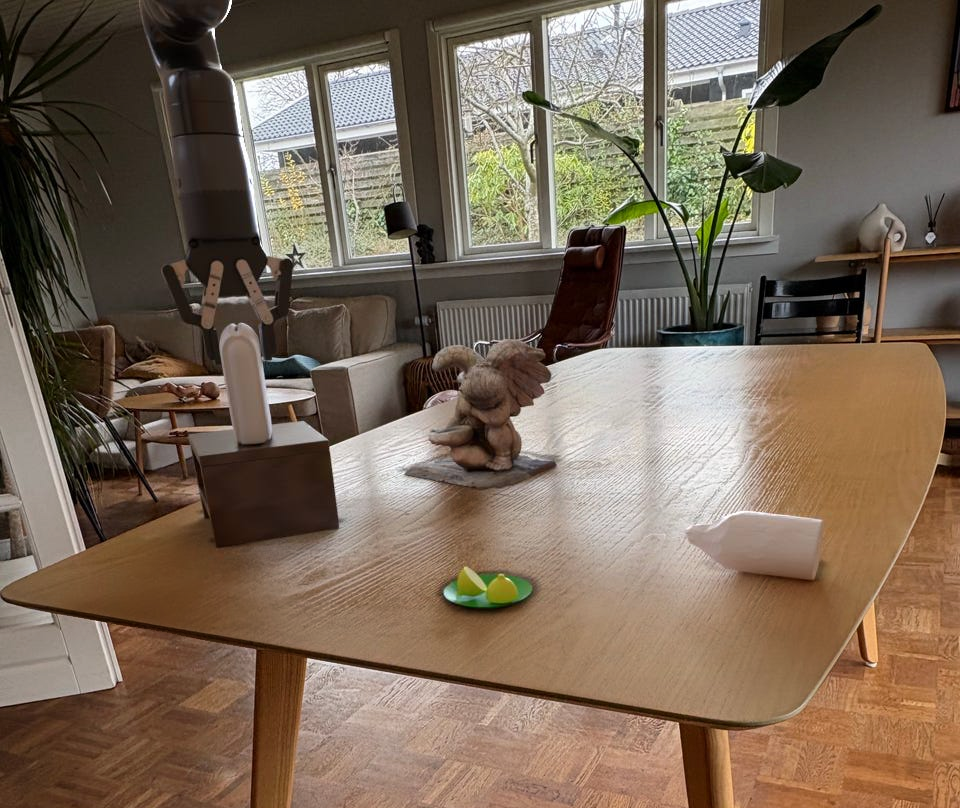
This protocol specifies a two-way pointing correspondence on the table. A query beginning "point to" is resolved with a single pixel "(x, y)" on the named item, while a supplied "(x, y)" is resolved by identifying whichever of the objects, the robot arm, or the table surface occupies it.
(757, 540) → the white plastic bottle
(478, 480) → the cherub figurine
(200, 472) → the box
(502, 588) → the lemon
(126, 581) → the table surface
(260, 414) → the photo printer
